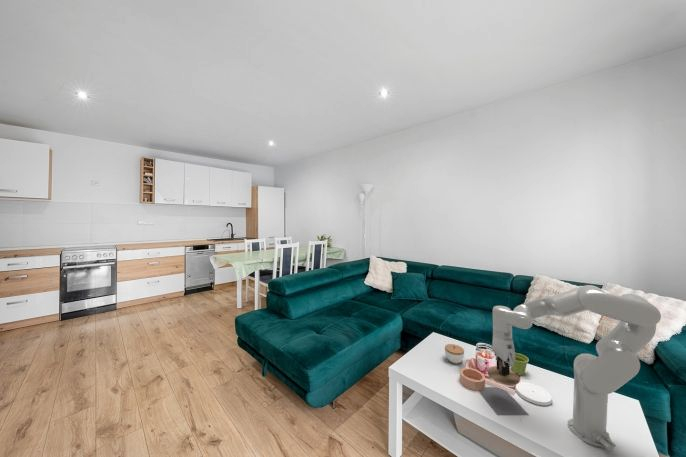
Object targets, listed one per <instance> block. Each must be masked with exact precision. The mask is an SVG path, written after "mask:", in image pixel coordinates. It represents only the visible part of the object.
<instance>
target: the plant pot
mask: <svg viewBox="0 0 686 457" xmlns="http://www.w3.org/2000/svg"><path fill="white" fill-rule="evenodd" d="M529 361H530V360H529V357H527V356H526V355H524V354H522V353H517V352H515V361H513V364H514V366H510V368H511V369H510V370H512V371H513V372H515V373H517V375H518V374H520V375H519V376H524V375H525V374H526V369H527V364H528V363H529Z"/></svg>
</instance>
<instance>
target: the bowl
mask: <svg viewBox="0 0 686 457" xmlns="http://www.w3.org/2000/svg"><path fill="white" fill-rule="evenodd" d="M459 382H460V384H461V385H462V386H463V387H465V388H466V389H468V390H470V391H474V392H479V391H482V390H483V389H485V387H486V376H485V375H484V373H483V372H481V371H479V370H478V369H474V368H471V367H462V368H461V369H460V372H459Z"/></svg>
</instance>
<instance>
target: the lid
mask: <svg viewBox="0 0 686 457" xmlns="http://www.w3.org/2000/svg"><path fill="white" fill-rule="evenodd" d="M505 363H507V362H505ZM502 366H503V362H502V359H499V370H497V365H494V366H490V367H488V368H487V375H488V377H489V378H490V379H492V380H493V381H495V382H496V383H499V384H503V385H507V386H516V384H518V383H520V377H519V376H520V375H518V374H516V373H515V372H513V371H512V370H511V369H510V374H509V375H503V374H502Z"/></svg>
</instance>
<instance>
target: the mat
mask: <svg viewBox="0 0 686 457" xmlns="http://www.w3.org/2000/svg"><path fill="white" fill-rule="evenodd" d="M497 387H498V386H494V387H493V386H485V389H483V390H482V391H478V393H479V394H480V395H481V397H482V398H483V399H484V400H485V402H486V403H487V404H488V406H489V407H490V408H491V409H492V410H493V412H494V413H495V414H496V416H530V415H529V413H528V412H527V411H526V410H525V409H524V408H523V407H522V406H521V404H519V403H518V402H517V400H516V399H514V397H513V396H512V395H511V394H510V393H509V392H508V390H506V389H505V390H506V391H505V390H503V389H500V388H497Z"/></svg>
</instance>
